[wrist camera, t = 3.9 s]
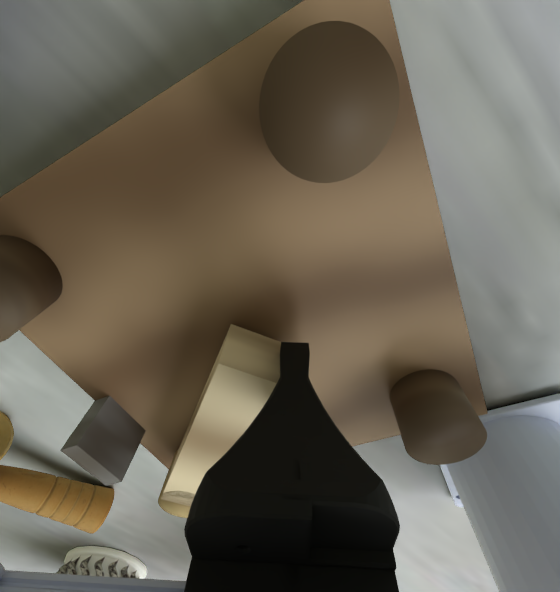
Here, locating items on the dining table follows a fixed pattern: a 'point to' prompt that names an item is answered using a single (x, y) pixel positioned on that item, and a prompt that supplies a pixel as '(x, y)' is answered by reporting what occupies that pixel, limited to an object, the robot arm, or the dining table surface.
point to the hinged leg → (222, 412)
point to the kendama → (51, 492)
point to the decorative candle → (102, 563)
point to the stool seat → (251, 247)
